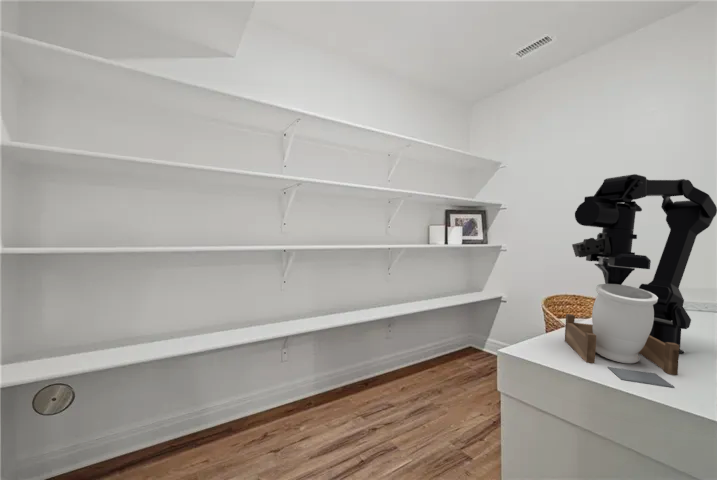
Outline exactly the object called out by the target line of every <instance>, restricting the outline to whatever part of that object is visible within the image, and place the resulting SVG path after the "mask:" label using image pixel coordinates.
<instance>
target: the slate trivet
mask: <svg viewBox="0 0 717 480" xmlns="http://www.w3.org/2000/svg"><path fill="white" fill-rule="evenodd" d="M607 369H608V370H609V371H611V372H612V373H613V374H614V375H615V376H616V377H618V378H619V379H620V380H621V381H627V382H632V383H633V382H634V383H639V384H647V385H653V386H659V387H666V388H667V387H668V388H674V389H675V387H676V386H674V385H673V384H671V383H670V382H668V381H667V380H666V379H664V378H662V377H661V376H660V375H659V374H657V373H655V372H647V371H641V370H633V369H626V368H620V367H619V368H618V367H613V366H607Z"/></svg>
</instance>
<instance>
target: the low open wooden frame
mask: <svg viewBox="0 0 717 480" xmlns="http://www.w3.org/2000/svg"><path fill="white" fill-rule="evenodd" d="M575 318H576V316H575V315H574V314H571V313H566V315H565V329H564V342H566V343H567V345H568V346H570V348H571V349H572V350H574V352H575V353H577V354H578V355H579V357H581V358H582V359H583V360H584V361H585V362H586V363H589V364H596V353H597V352H596V335H595V334H594V333H593V329H592V326H593V324H592V323H591V324H589V323H581V322H575ZM638 355H641V356H642V357H644V358H645V359H647V360H648V361H650V362H651V363H653V364H655V365H656V366H658V367H659V368H661V369H662V370H663V372H665V373H666V374H667V375H671V376H678V372H679V359H680V353H679V345H678V344H676V343H670V342H665V343H664V342H662V341H660V340H658V339H656V338H654V337H652V336H650V335H649V337H648V338H647V341H646V343H645V345H644V347H643V348H642V350H641V351H640V352H639V353H638Z"/></svg>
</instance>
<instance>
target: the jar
mask: <svg viewBox="0 0 717 480" xmlns="http://www.w3.org/2000/svg"><path fill="white" fill-rule="evenodd" d="M595 291H596V292H597V293H598V294H597V296H596V298H595V299H594V303H593V307H592V311H591V322H592V323H591V324H592V325H593V326H592V329H593V333H594V334H595V335H596V352H595V353H597V355H600V356H601V357H604V358H606V359H608V360H610V361H614V362H618V363H621V364H622V363H623V364H635V363H636V364H637V363H638V362H639V361H640V356H639V355H640V354H639V352H640V351H641V350H642V348H643V347H644V345H645V343H646V341H647V338H648V337H649V335H650V332H651V330H652V326H653V321H654V308H653V304H655V303H657V301H658V297H657V296H656V295H655V294H653V293H651V292H648V291H646V290H643V289H639V287H635V286H631V285H625V284H621V285H619V284H605V283H602V284H598V285H597V286H596V289H595Z"/></svg>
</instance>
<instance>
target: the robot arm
mask: <svg viewBox="0 0 717 480" xmlns="http://www.w3.org/2000/svg"><path fill="white" fill-rule="evenodd" d="M681 196H683V197H684V199H687V200H678V201H677V200H676V201H674V202H673V200H672V199H671V197H681ZM646 197H662V202H661V205H660V206H661V209H662V211H663V212H664V214H665V215H666V217H665V221H666V223H667V225H668V228H669V229H670V231H669V234H668V236H667V238H666V242H665V244H664V248H663V250H662V253H661V256H660V259H659V261H658V265H657V268H656V270H655V273H654V276H653V279H652V280H651V281H649V283H641V284H640V285H639V286H638V288H639V289H643V290H646V291H648V292H651V293H653V294H655V295H656V296H657V297H658V301H657V303H655V304H653V308H654V321H653V326H652V330H651V332H650V336H652V337H654V338H656V339H658V340H660V341H662V342H664V343H665V342H670V343H676V344H678V345H679V354H685V351H684V350H683V349H682V348H681V339H682V330H687V329H688V328H690V326H691V323H692V319H691V317H690V315H689V314H688V312H687V310H686V309H685V308H684V302H685V299H684V297H683V294H682V293H681V290H680V284H681V281H682V280H683V276H684V273H685V270H686V268H687V265H688V262H689V259H690V255H691V253H692V250H693V247H694V244H695V241H696V239H697V236H698V235H700V234H702V232H704V231H705V230H706V229H708V228H709V227H710V226H711V225H712V222H713V220H714V218H715V217H716V215H717V204H715V201H714V200H713V199H712V197H711V196H710V194H708V193H706V192H705V191H703V190H701V189H699V188H697V187H695V185H693V183H692V182H691V181H690V180H689V179H685V178H682V179H647V177H646V176H644V175H640V174H636V173H634V174H626V175H621V176H614V177H608V178H605V179H603V182H602V184H601V185H600V187H599V188H598V189H597V191H596V192H595V194H594V195H590V196H588V195H587V196H584V201H583V202H582V203H580V204H579V205H578V207H577V208H576V210H575V211H574V219H575V221H576V223H578V224H579V225H581V226H583V227H591V228H600V229H601V228H602V231H601V232H598V234H597V236H596V238H594V237H590V238H585V239H583V241H581V242H577V243H572V244H571V245H572V249H573V252H574V256H575V257H578V258H585V261H587V262H598V263H594V266H596V267H597V268H598V269H599V270H600V271H601V272H602V274H603V279H604V284H619V285H623V283H624V282H625V281H626V279H627V278H628V277H629V276H630V274H632V272H634V271H635V269H641V270H642V269H643V270H651V263H652V262H651V259H650V258H649V257H648V256H647V255H644V254H643V255H642V254H636V252H632V247H633V240H637V239H638V235H637V234H635V233H634V231H635V219H636V212H642V211H643V209H642V207H641V206H640V205H639V204H637V203H636V201H635V200H639V199H642V198H646Z"/></svg>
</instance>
